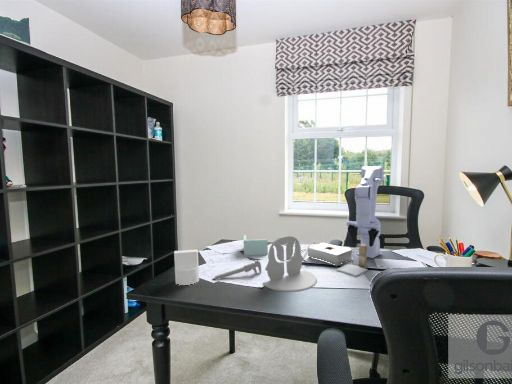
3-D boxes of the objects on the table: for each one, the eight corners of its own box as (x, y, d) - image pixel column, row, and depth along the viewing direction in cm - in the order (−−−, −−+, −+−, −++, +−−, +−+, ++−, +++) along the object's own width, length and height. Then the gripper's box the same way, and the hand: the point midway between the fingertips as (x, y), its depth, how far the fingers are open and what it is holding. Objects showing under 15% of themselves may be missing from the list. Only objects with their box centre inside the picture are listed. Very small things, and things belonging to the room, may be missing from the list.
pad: (347, 265, 122) (347, 263, 122) (367, 270, 115) (367, 269, 115) (336, 270, 116) (336, 269, 116) (356, 276, 109) (356, 275, 109)
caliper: (260, 272, 116) (260, 258, 116) (261, 273, 115) (261, 259, 114) (211, 279, 110) (211, 264, 110) (212, 281, 109) (211, 265, 109)
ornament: (305, 271, 116) (305, 232, 115) (329, 282, 105) (329, 238, 104) (261, 284, 105) (260, 240, 103) (283, 297, 94) (282, 249, 92)
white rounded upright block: (174, 286, 104) (172, 255, 103) (177, 277, 113) (175, 248, 112) (198, 284, 105) (197, 254, 104) (199, 275, 114) (198, 247, 113)
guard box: (322, 252, 141) (322, 242, 140) (351, 259, 129) (351, 249, 128) (307, 257, 133) (307, 247, 132) (337, 266, 121) (337, 255, 120)
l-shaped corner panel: (267, 254, 139) (267, 239, 139) (243, 255, 139) (243, 240, 138) (266, 247, 151) (266, 234, 151) (244, 248, 151) (244, 234, 150)
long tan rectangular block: (361, 263, 123) (361, 244, 122) (366, 265, 121) (367, 245, 120) (358, 265, 122) (359, 245, 121) (363, 266, 120) (364, 246, 119)
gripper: (343, 212, 122) (342, 242, 123) (375, 216, 111) (374, 249, 113) (351, 210, 127) (351, 239, 128) (383, 214, 116) (382, 246, 117)
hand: (362, 244), depth 121 cm, fingers open, 7 cm apart
